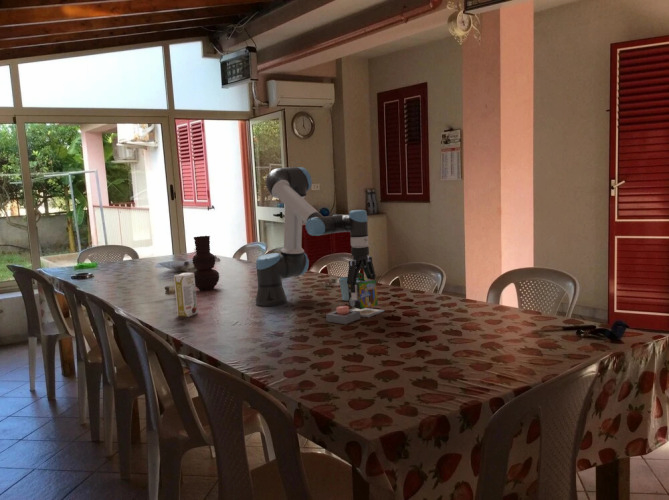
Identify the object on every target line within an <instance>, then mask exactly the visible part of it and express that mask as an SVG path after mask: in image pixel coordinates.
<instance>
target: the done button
mask: <svg viewBox="0 0 669 500" xmlns="http://www.w3.org/2000/svg"><path fill="white" fill-rule="evenodd" d="M349 310H350V306H349V305H339V306H336V311H337V314H338V315H347V314H349Z"/></svg>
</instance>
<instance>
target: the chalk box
mask: <svg viewBox="0 0 669 500" xmlns="http://www.w3.org/2000/svg"><path fill="white" fill-rule="evenodd" d="M360 276H361V277H360ZM353 282H354V281H353ZM356 285H357V293H358V300H352V296H351V286H350V285H348V292H349V300H348V304H349V305H348V306H349V307H352V308H358V309H365V308H372V307H377V306H378V295H377V294H378V292H377V280H376V279H375V280H374V279H368V278H367V277H365V276H364V274H363V273H361V272H359V274H358V278H357V281H356Z"/></svg>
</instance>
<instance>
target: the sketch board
mask: <svg viewBox="0 0 669 500" xmlns="http://www.w3.org/2000/svg"><path fill="white" fill-rule="evenodd" d="M351 310H352V311H359V312H360V318H361V317H363V318H371V317H373V316H376V315H378V314H381V313H384V312H385V309H377V308H376V309H375V308H371V307H369V308H365V309H358V308H355V307H353V308H352V309H351Z"/></svg>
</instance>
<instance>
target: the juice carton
mask: <svg viewBox="0 0 669 500" xmlns="http://www.w3.org/2000/svg"><path fill="white" fill-rule="evenodd" d="M173 281H174V289H175V290H174V293H175V303H176V312H177V313H176V314H177V317H183V318H184V317H186V318H189V317H191V316H194V315H197V314H198V300H197V290H196V288H197V287H196V286H195V276H194V272H182V273H180V274H174V275H173Z"/></svg>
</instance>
